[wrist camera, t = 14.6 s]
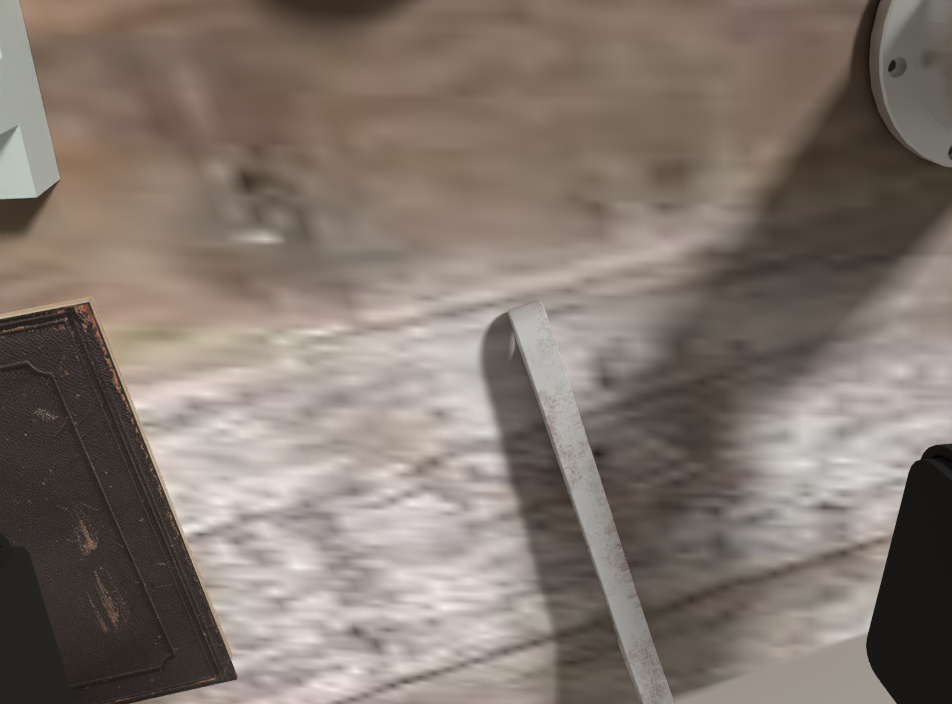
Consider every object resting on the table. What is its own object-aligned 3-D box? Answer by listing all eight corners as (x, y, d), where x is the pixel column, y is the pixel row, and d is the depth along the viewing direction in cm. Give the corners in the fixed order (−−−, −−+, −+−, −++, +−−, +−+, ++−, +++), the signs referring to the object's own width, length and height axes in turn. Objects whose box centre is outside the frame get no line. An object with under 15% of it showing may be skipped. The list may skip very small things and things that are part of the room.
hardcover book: (101, 285, 38) (87, 304, 36) (241, 649, 48) (236, 680, 46) (-260, 355, 37) (-296, 378, 35) (-39, 711, 47) (-57, 745, 45)
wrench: (527, 279, 44) (666, 703, 54) (494, 290, 44) (639, 712, 54) (558, 324, 36) (712, 807, 46) (518, 338, 36) (681, 818, 46)
